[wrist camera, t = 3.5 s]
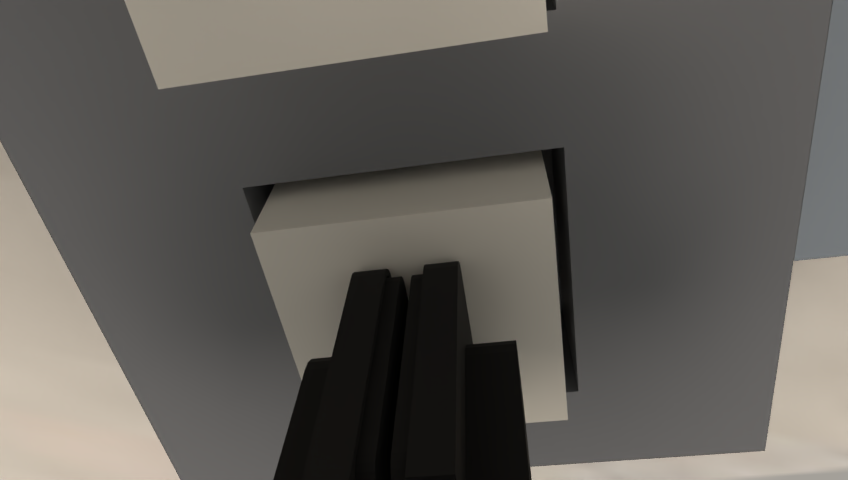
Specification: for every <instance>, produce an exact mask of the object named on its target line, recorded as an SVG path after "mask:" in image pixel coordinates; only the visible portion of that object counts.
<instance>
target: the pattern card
mask: <svg viewBox="0 0 848 480" xmlns="http://www.w3.org/2000/svg"><path fill="white" fill-rule="evenodd" d="M847 255H848V0H832V6H831V12H830V19H829V26H828V32H827V39H826V46H825V52H824V59H823V66H822V72H821V79H820V86H819V92H818V99H817V106H816V113H815V119H814V126H813V133H812V139H811V146H810V153H809V159H808V166H807V173H806V179H805V186H804V193H803V199H802V206H801V213H800V219H799V226H798V233H797V239H796V246H795V253H794V259H793V260H794V261H798V260H808V259H817V258H827V257H837V256H847Z"/></svg>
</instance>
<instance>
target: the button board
mask: <svg viewBox="0 0 848 480" xmlns="http://www.w3.org/2000/svg"><path fill="white" fill-rule="evenodd" d="M831 6H832V0H546V11H547V26H548V32H543V33H537V34H530V35H523V36H516V37H510V38H503V39H496V40H489V41H483V42H476V43H469V44H462V45H456V46H449V47H442V48H435V49H429V50H422V51H415V52H408V53H402V54H395V55H388V56H381V57H375V58H368V59H361V60H354V61H348V62H341V63H334V64H327V65H321V66H314V67H307V68H300V69H293V70H287V71H280V72H273V73H266V74H260V75H253V76H246V77H239V78H233V79H226V80H219V81H212V82H206V83H199V84H192V85H185V86H179V87H172V88H165V89H158V87H157V85H156V82H155V79H154V77H153V74H152V71H151V69H150V66H149V64H148V61H147V58H146V56H145V53H144V51H143V48H142V45H141V43H140V40H139V37H138V35H137V32H136V30H135V27H134V24H133V22H132V19H131V17H130V14H129V11H128V9H127V6H126V4H125V1H124V0H0V141H1V143H2V145H3V147H4V149H5V150H6V152H7V154H8V156H9V158H10V160H11V162H12V164H13V166H14V167H15V169H16V171H17V173H18V175H19V177H20V179H21V181H22V182H23V184H24V186H25V188H26V190H27V192H28V194H29V196H30V197H31V199H32V201H33V203H34V205H35V207H36V209H37V211H38V213H39V214H40V216H41V218H42V220H43V222H44V224H45V226H46V228H47V229H48V231H49V233H50V235H51V237H52V239H53V241H54V243H55V244H56V246H57V248H58V250H59V252H60V254H61V256H62V258H63V260H64V261H65V263H66V265H67V267H68V269H69V271H70V273H71V275H72V276H73V278H74V280H75V282H76V284H77V286H78V288H79V290H80V291H81V293H82V295H83V297H84V299H85V301H86V303H87V305H88V307H89V308H90V310H91V312H92V314H93V316H94V318H95V320H96V322H97V323H98V325H99V327H100V329H101V331H102V333H103V335H104V337H105V338H106V340H107V342H108V344H109V346H110V348H111V350H112V352H113V354H114V355H115V357H116V359H117V361H118V363H119V365H120V367H121V369H122V370H123V372H124V374H125V376H126V378H127V380H128V382H129V384H130V385H131V387H132V389H133V391H134V393H135V395H136V397H137V399H138V401H139V402H140V404H141V406H142V408H143V410H144V412H145V414H146V416H147V417H148V419H149V421H150V423H151V425H152V427H153V429H154V431H155V432H156V434H157V436H158V438H159V440H160V442H161V444H162V446H163V448H164V449H165V451H166V453H167V455H168V457H169V459H170V461H171V463H172V464H173V466H174V468H175V470H176V472H177V474H178V476H179V478H180V479H181V480H273V479H274V475H275V472H276V468H277V465H278V461H279V458H280V454H281V451H282V447H283V444H284V440H285V437H286V434H287V430H288V427H289V423H290V420H291V416H292V413H293V409H294V406H295V402H296V399H297V395H298V392H299V388H300V385H301V378H300V375H299V372H298V369H297V366H296V363H295V360H294V358H293V355H292V352H291V349H290V346H289V343H288V340H287V338H286V335H285V332H284V329H283V326H282V323H281V320H280V317H279V315H278V312H277V309H276V306H275V303H274V300H273V297H272V295H271V292H270V289H269V286H268V283H267V280H266V277H265V275H264V272H263V269H262V266H261V263H260V260H259V257H258V254H257V252H256V249H255V246H254V243H253V240H252V237H251V234H250V233H251V231H252V229H253V227H254V225H255V223H256V221H257V219H258V217H259V215H260V213H261V211H262V209H263V207H264V205H265V203H266V201H267V199H268V197H269V195H270V193H271V191H272V189H273V187H274V185H275V184H277V183H284V182H292V181H300V180H308V179H316V178H324V177H332V176H340V175H348V174H356V173H364V172H372V171H380V170H387V169H395V168H403V167H411V166H419V165H427V164H435V163H443V162H451V161H459V160H467V159H475V158H483V157H491V156H498V155H506V154H514V153H522V152H530V151H538V150H541V152H542V156H543V161H544V165H545V169H546V174H547V178H548V182H549V187H550V191H551V195H552V203H553V217H554V231H555V245H556V259H557V273H558V287H559V301H560V315H561V329H562V343H563V357H564V371H565V385H566V399H567V413H568V420H561V421H548V422H534V423H526V431H527V441H528V450H529V460H530V467H532V466H547V465H561V464H576V463H591V462H606V461H621V460H636V459H650V458H665V457H680V456H695V455H710V454H725V453H740V452H754V451H765V446H766V440H767V433H768V426H769V420H770V413H771V406H772V400H773V393H774V386H775V380H776V373H777V366H778V360H779V353H780V346H781V340H782V333H783V326H784V320H785V313H786V306H787V299H788V293H789V286H790V279H791V273H792V266H793V259H794V253H795V246H796V239H797V233H798V226H799V219H800V213H801V206H802V199H803V193H804V186H805V179H806V173H807V166H808V159H809V153H810V146H811V139H812V133H813V126H814V119H815V113H816V106H817V99H818V92H819V86H820V79H821V72H822V66H823V59H824V52H825V46H826V39H827V32H828V26H829V19H830V12H831Z"/></svg>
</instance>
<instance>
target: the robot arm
mask: <svg viewBox="0 0 848 480" xmlns="http://www.w3.org/2000/svg"><path fill="white" fill-rule="evenodd" d="M273 480H531V470H530V460H529V450H528V441H527V431H526V421H525V412H524V403H523V394H522V385H521V376H520V368H519V359H518V351H517V343H516V340H513V341H502V342H491V343H480V344H473V340H472V334H471V328H470V322H469V315H468V309H467V303H466V297H465V291H464V285H463V278H462V272H461V266H460V262H459V261H453V262H444V263H435V264H425V265H424V268H423V274H418V275H412V276H411V282H410V291H409V300H408V297H407V292H406V287H405V283H404V280H403V277H402V276H399V277H391V274H390V271H389V270H388V269H379V270H369V271H360V272H354V273H352V276H351V279H350V283H349V287H348V292H347V296H346V300H345V304H344V308H343V312H342V316H341V320H340V324H339V328H338V332H337V337H336V341H335V345H334V349H333V353H332V357H326V358H315V359H311V360H310V361H309V362H308V363H307V366H306V368H305V371H304V374H303V378H302V381H301V385H300V388H299V392H298V395H297V399H296V402H295V406H294V409H293V413H292V416H291V420H290V423H289V427H288V430H287V434H286V437H285V440H284V444H283V447H282V451H281V454H280V458H279V461H278V465H277V468H276V472H275V475H274V479H273Z"/></svg>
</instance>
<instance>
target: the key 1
mask: <svg viewBox="0 0 848 480" xmlns="http://www.w3.org/2000/svg"><path fill="white" fill-rule="evenodd" d="M250 234H251V237H252V240H253V243H254V246H255V249H256V252H257V254H258V257H259V260H260V263H261V266H262V269H263V272H264V275H265V277H266V280H267V283H268V286H269V289H270V292H271V295H272V297H273V300H274V303H275V306H276V309H277V312H278V315H279V317H280V320H281V323H282V326H283V329H284V332H285V335H286V338H287V340H288V343H289V346H290V349H291V352H292V355H293V358H294V360H295V363H296V366H297V369H298V372H299V375H300V378H301V381H302V378H303V374H304V371H305V368H306V366H307V363H308V362H309V361H310V360H311V359H315V358H326V357H332V353H333V349H334V345H335V341H336V337H337V332H338V328H339V324H340V320H341V316H342V312H343V308H344V304H345V300H346V296H347V292H348V287H349V283H350V279H351V276H352V273H354V272H360V271H369V270H379V269H388V270H389V271H390V274H391V277H399V276H402V277H403V280H404V283H405V287H406V292H407V297H408V300H409V291H410V282H411V276H412V275H418V274H423V268H424V265H425V264H435V263H444V262H453V261H459V262H460V266H461V272H462V278H463V285H464V291H465V297H466V303H467V309H468V315H469V322H470V328H471V334H472V340H473V344H480V343H491V342H502V341H513V340H516V343H517V351H518V359H519V368H520V376H521V385H522V394H523V403H524V412H525V421H526V423H534V422H548V421H561V420H568V413H567V399H566V385H565V371H564V357H563V343H562V329H561V315H560V301H559V287H558V273H557V259H556V245H555V231H554V217H553V203H552V195H551V191H550V187H549V182H548V178H547V174H546V169H545V165H544V161H543V156H542V152H541V150H538V151H530V152H522V153H514V154H506V155H498V156H491V157H483V158H475V159H467V160H459V161H451V162H443V163H435V164H427V165H419V166H411V167H403V168H395V169H387V170H380V171H372V172H364V173H356V174H348V175H340V176H332V177H324V178H316V179H308V180H300V181H292V182H284V183H277V184H275V185H274V187H273V189H272V191H271V193H270V195H269V197H268V199H267V201H266V203H265V205H264V207H263V209H262V211H261V213H260V215H259V217H258V219H257V221H256V223H255V225H254V227H253V229H252V231H251V233H250Z"/></svg>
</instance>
